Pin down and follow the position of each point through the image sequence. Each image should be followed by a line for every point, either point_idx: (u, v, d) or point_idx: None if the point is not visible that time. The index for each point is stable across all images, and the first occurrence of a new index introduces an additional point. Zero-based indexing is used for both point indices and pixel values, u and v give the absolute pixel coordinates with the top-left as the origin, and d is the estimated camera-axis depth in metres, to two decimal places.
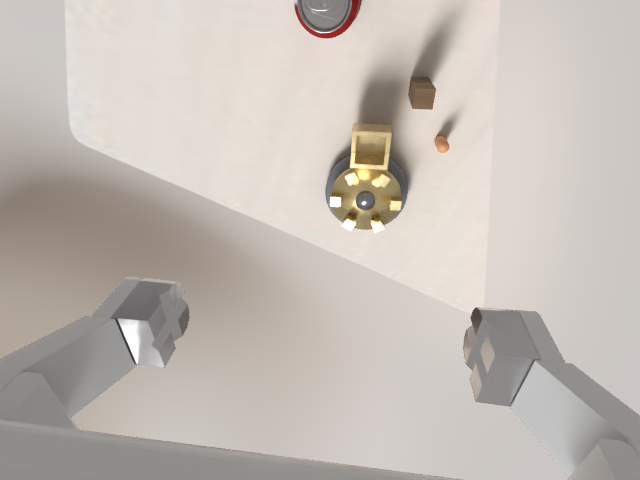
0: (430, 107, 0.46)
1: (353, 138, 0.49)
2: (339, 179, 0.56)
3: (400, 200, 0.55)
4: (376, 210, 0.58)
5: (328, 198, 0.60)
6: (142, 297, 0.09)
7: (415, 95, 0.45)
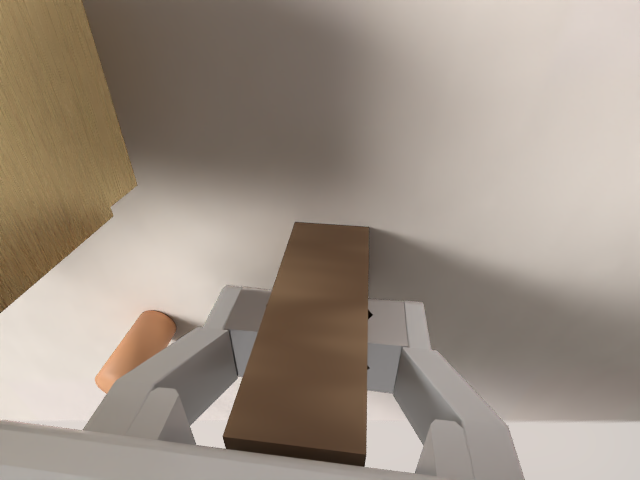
0: None
1: None
2: None
3: None
4: None
5: None
6: (248, 307, 0.09)
7: (315, 447, 0.06)
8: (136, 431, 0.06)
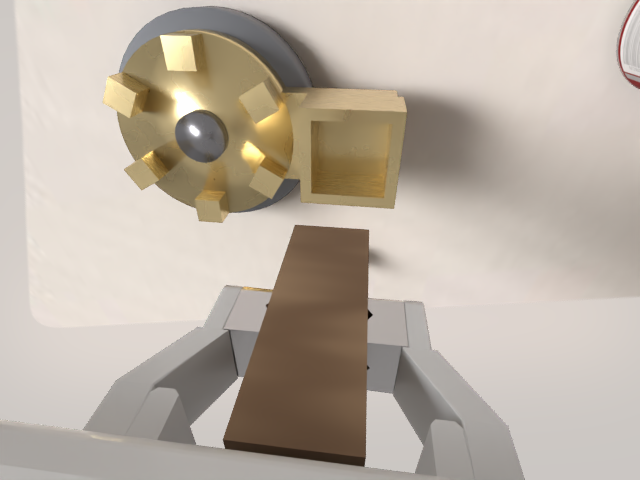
0: None
1: (385, 115, 0.17)
2: (247, 59, 0.20)
3: (223, 218, 0.24)
4: (181, 161, 0.24)
5: (179, 18, 0.21)
6: (249, 307, 0.09)
7: (315, 450, 0.06)
8: (136, 430, 0.06)
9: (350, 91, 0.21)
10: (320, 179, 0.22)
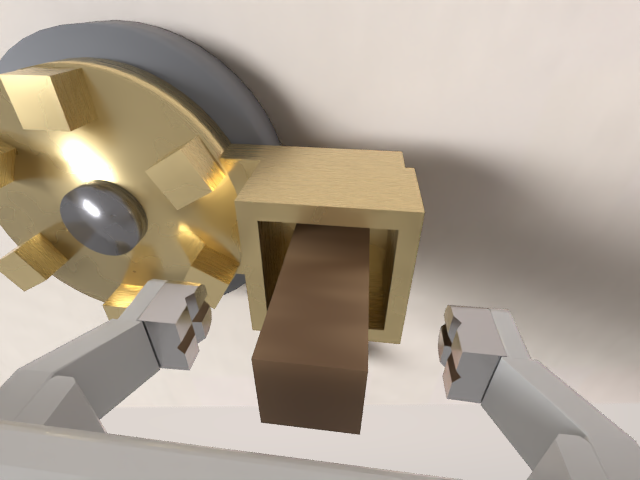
0: (269, 417, 0.09)
1: (385, 217, 0.10)
2: (161, 109, 0.12)
3: None
4: (84, 247, 0.16)
5: (57, 40, 0.13)
6: (168, 299, 0.09)
7: (327, 367, 0.08)
8: (24, 416, 0.07)
9: (329, 154, 0.13)
10: None
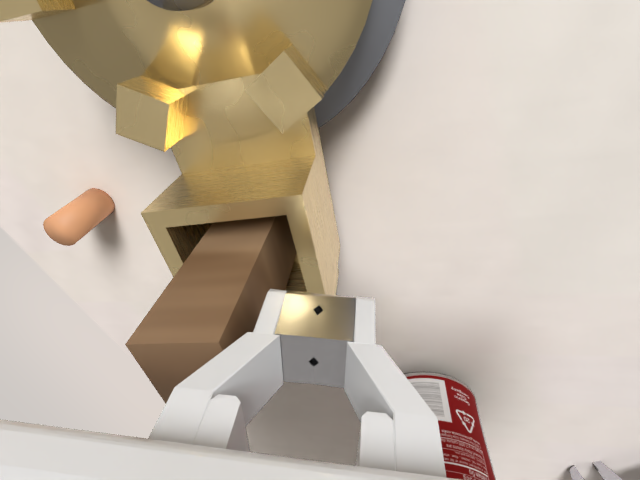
0: (139, 350, 0.09)
1: None
2: (347, 44, 0.11)
3: (9, 20, 0.11)
4: None
5: None
6: (296, 311, 0.09)
7: None
8: (202, 439, 0.06)
9: (329, 201, 0.15)
10: None
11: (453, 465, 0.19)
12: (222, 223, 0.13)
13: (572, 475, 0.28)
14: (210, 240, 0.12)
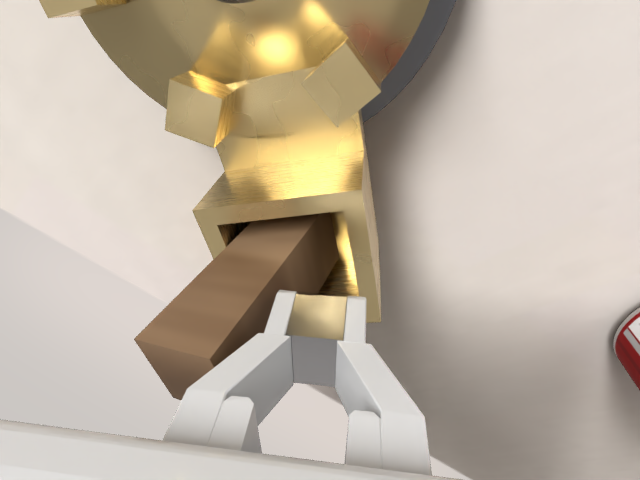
0: (145, 347, 0.09)
1: (371, 301, 0.12)
2: (404, 35, 0.11)
3: (61, 16, 0.10)
4: None
5: None
6: (307, 312, 0.09)
7: None
8: (217, 441, 0.06)
9: (371, 198, 0.15)
10: None
11: None
12: (260, 223, 0.13)
13: None
14: (243, 240, 0.12)
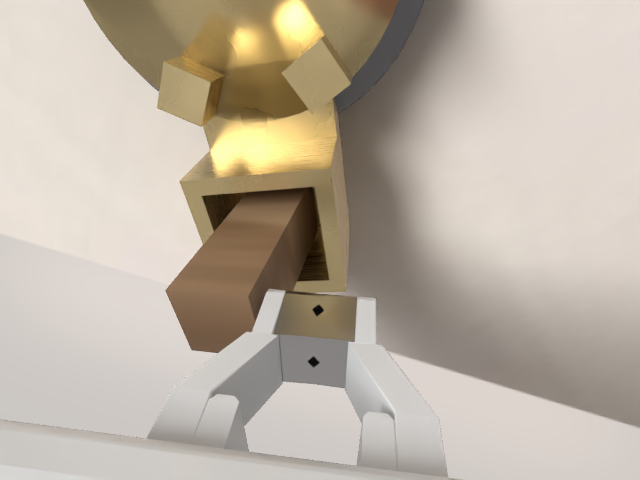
0: (176, 297, 0.10)
1: (338, 271, 0.14)
2: (374, 36, 0.12)
3: None
4: None
5: None
6: (295, 311, 0.09)
7: None
8: (201, 439, 0.06)
9: (343, 182, 0.16)
10: None
11: None
12: (252, 197, 0.14)
13: None
14: (241, 211, 0.13)
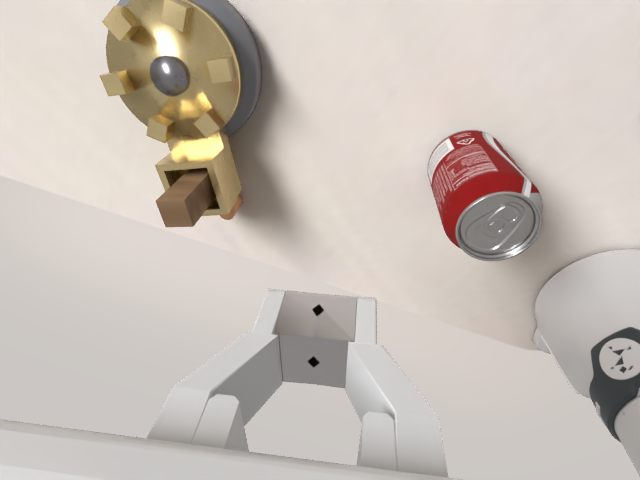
0: (159, 203, 0.29)
1: (222, 204, 0.33)
2: (230, 109, 0.31)
3: None
4: (143, 52, 0.29)
5: None
6: (295, 311, 0.09)
7: (189, 217, 0.29)
8: (201, 438, 0.06)
9: (233, 167, 0.35)
10: None
11: (455, 161, 0.29)
12: (189, 172, 0.33)
13: None
14: (184, 177, 0.32)
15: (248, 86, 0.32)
